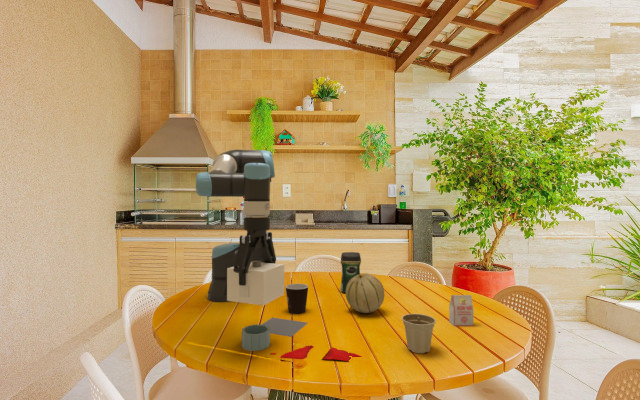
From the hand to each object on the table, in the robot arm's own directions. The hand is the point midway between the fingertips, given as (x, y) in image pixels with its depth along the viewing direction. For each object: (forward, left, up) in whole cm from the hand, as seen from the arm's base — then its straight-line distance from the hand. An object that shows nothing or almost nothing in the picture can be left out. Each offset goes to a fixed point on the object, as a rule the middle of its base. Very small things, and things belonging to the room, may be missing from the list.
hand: (256, 291), depth 97 cm
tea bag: (+56, +42, -16) cm, 72 cm away
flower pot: (+44, +16, -16) cm, 49 cm away
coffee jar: (+9, +68, -16) cm, 71 cm away
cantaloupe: (+22, +42, -16) cm, 50 cm away
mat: (0, +16, -16) cm, 22 cm away
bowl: (0, 0, -16) cm, 16 cm away
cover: (0, 0, -2) cm, 2 cm away
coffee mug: (-2, +33, -16) cm, 37 cm away
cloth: (+18, +2, -17) cm, 25 cm away
